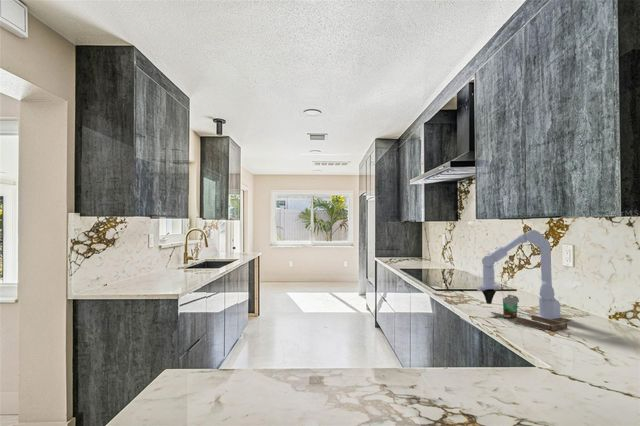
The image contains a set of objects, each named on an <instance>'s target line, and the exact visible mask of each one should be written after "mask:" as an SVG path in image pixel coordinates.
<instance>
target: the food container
mask: <svg viewBox="0 0 640 426" xmlns="http://www.w3.org/2000/svg"><path fill="white" fill-rule="evenodd" d="M518 297H519V296H517V295H512V294H507V296H506V297H504V298H502V311H503V319H509V320H510V319H512V320H513V319H517V317H518V305H519V304H518V303H519V302H520V300H519V298H518Z"/></svg>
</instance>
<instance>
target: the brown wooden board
mask: <svg viewBox="0 0 640 426" xmlns="http://www.w3.org/2000/svg"><path fill="white" fill-rule="evenodd" d="M535 315H536V314H531V316H530V317H531V320H530V319H528V318H523V317H519V316H517V318H516V323H521V324H525V325H528V326H532V327H535V328H537V329H538V328H539V329H543V330H547V331H556V330H562V329H563V330H564V329H567V328H568V322H563V321H558V320H555V319H547V318H543V317H539V316H535Z"/></svg>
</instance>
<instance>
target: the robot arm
mask: <svg viewBox="0 0 640 426" xmlns="http://www.w3.org/2000/svg"><path fill="white" fill-rule="evenodd" d="M528 242H529V243H530V244H534V245H535V246H536V247H538V248H539V249H540V250H539V251H540V273H541V274H540V275H541V286H540V288H539V297H538V314H534V315H535V316H539V317H543V318H547V319H551V320H555V319H556V320H557V319H561V318H563V316H561V303H560V301H559V300H558V299H556V298H555V289H554V287H553V282H552V280H553V279H552V253H551V252H552V251H551V249H552V248H551V244H550V243H549V241H548V239H546V237H545V236H544V235H543V234H542V233H541V232H540V231H538V230H536V229H531V230H528V231H527V232H524V233H522V234H521V235H518V236H517V237H516V238H514V239H513V240H511V241H510V242H509V243H507V244H506V245H504V246H498V247H497V246H496V247H495V248H494V249H493V250H492V251H491V252H487V255H485V256H483V258H481V259H482V260H481V263H482V285H480V286H476V287H477V288H476V291H478V292H482V294H483V296H484V299H485V303H486V304H488V305H492V302H493V299H494V296H495V294H496V293H497V291H496V290H501V285H499V284H496V285H495V267H494V266H495V263H498V262H499V261H500V260H502V259H504V258H505V257H506V256H508V252H509V251H511V250H512V249H514V248H515V247H518V246H519V245H520V244H526V243H528Z"/></svg>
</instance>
